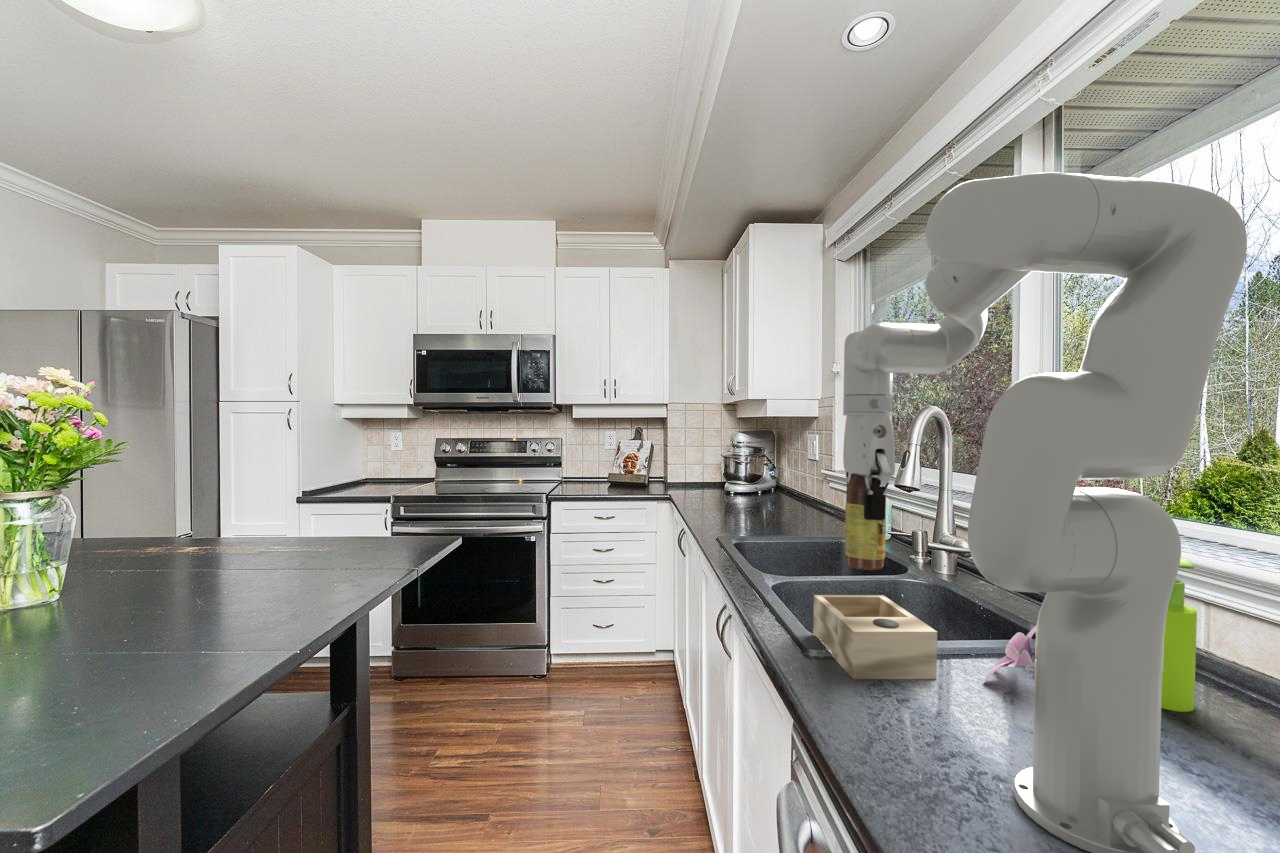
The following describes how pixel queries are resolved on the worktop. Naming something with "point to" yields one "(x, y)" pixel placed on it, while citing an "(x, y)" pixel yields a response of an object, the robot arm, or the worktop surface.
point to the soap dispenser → (1179, 651)
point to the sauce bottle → (862, 530)
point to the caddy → (875, 637)
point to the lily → (1016, 652)
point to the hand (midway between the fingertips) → (865, 514)
